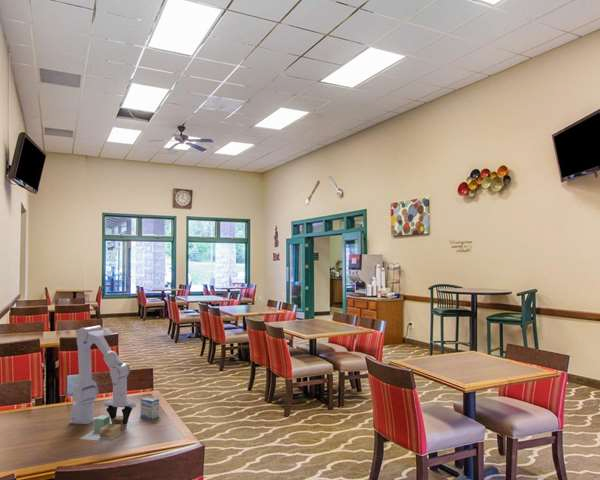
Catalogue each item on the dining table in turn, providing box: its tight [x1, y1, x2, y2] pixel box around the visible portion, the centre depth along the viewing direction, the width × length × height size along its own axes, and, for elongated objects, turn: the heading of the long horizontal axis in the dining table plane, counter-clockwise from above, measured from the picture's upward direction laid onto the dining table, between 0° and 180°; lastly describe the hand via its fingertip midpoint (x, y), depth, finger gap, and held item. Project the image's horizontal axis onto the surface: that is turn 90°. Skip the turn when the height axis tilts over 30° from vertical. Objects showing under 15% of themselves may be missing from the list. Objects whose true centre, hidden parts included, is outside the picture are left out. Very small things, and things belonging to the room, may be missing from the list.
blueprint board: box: [79, 419, 140, 442], centre depth 203 cm, size 15×22×1 cm
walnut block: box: [112, 415, 127, 431], centre depth 204 cm, size 4×4×5 cm
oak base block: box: [100, 424, 121, 438], centre depth 197 cm, size 6×6×4 cm
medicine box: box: [140, 396, 160, 420], centre depth 220 cm, size 8×4×9 cm, turn 62°
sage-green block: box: [93, 414, 111, 431], centre depth 205 cm, size 4×4×5 cm
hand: (119, 423), depth 204 cm, fingers open, 5 cm apart
